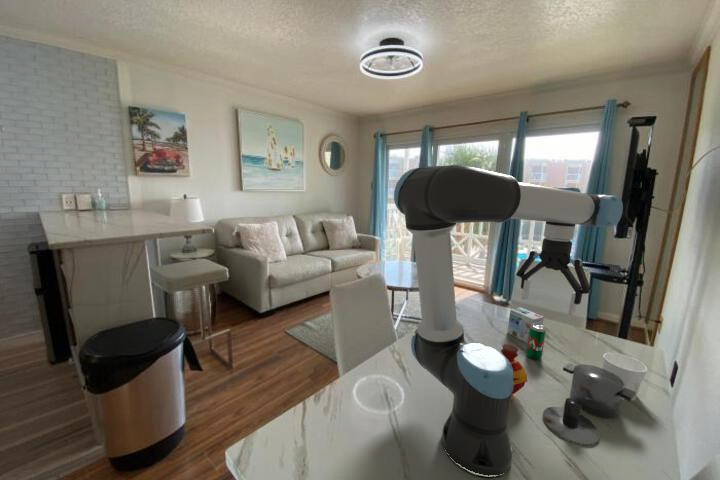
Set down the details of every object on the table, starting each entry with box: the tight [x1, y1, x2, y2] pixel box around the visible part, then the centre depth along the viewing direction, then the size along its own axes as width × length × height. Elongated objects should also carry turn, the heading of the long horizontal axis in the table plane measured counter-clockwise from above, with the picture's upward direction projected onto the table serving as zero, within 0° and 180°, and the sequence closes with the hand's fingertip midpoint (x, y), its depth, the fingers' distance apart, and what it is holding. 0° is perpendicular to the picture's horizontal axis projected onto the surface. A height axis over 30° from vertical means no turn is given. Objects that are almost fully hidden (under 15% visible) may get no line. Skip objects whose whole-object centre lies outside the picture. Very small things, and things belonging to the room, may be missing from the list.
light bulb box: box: [506, 307, 545, 344], centre depth 125 cm, size 11×7×11 cm, turn 25°
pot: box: [562, 362, 637, 420], centre depth 86 cm, size 11×16×9 cm
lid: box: [542, 397, 600, 446], centre depth 78 cm, size 12×12×7 cm
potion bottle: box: [500, 343, 528, 401], centre depth 89 cm, size 10×10×15 cm
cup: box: [602, 352, 648, 402], centre depth 92 cm, size 10×10×10 cm
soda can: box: [525, 324, 547, 361], centre depth 110 cm, size 5×5×12 cm
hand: (546, 306), depth 95 cm, fingers open, 13 cm apart
